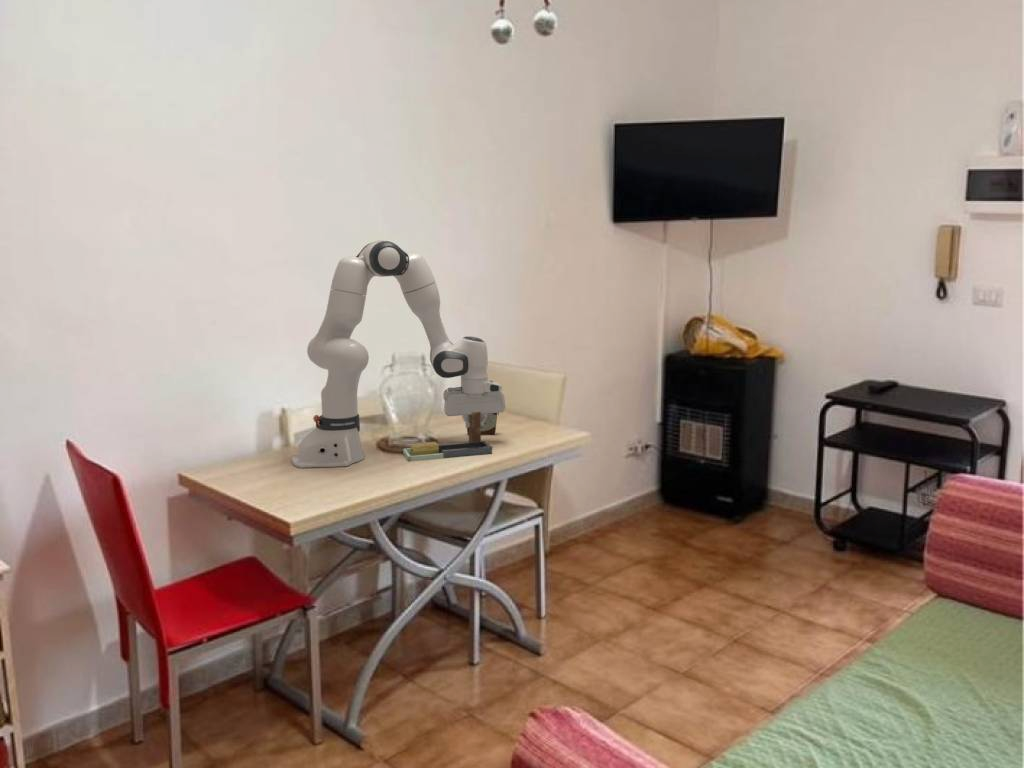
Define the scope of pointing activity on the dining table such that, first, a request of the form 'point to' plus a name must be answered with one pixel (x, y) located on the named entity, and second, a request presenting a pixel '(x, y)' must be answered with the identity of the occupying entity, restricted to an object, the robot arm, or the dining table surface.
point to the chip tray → (421, 456)
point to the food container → (488, 424)
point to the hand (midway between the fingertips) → (474, 427)
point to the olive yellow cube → (432, 448)
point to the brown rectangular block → (475, 427)
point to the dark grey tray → (465, 449)
